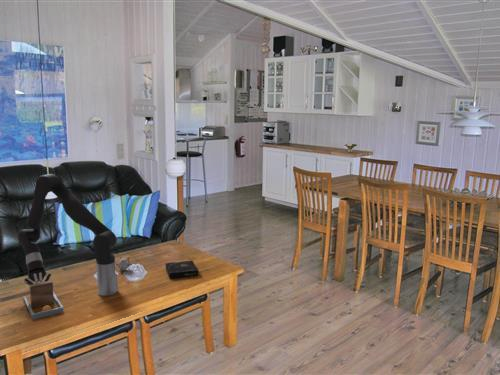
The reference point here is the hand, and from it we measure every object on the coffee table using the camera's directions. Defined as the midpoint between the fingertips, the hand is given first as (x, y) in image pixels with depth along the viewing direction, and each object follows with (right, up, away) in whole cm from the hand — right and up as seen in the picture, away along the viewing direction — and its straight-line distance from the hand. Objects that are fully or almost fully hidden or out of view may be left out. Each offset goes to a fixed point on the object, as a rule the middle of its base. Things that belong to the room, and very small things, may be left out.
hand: (41, 293), depth 222 cm
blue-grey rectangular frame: (+6, -7, -8) cm, 12 cm away
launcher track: (-1, -5, +2) cm, 5 cm away
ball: (+8, -5, -10) cm, 14 cm away
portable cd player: (+64, +2, +42) cm, 77 cm away
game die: (+30, +3, +43) cm, 53 cm away
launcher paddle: (+1, -5, -1) cm, 6 cm away
